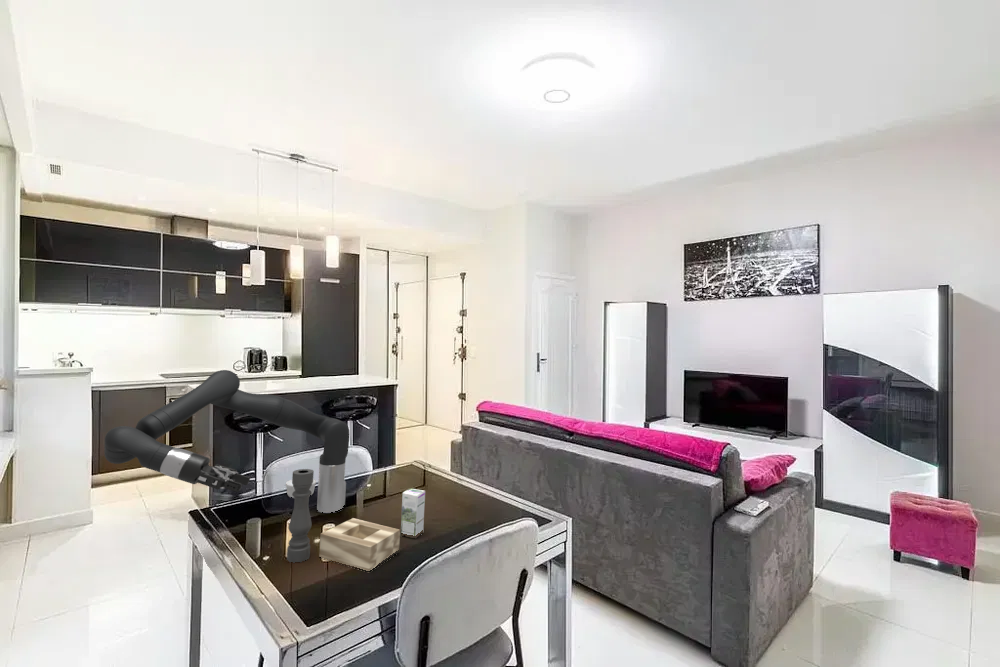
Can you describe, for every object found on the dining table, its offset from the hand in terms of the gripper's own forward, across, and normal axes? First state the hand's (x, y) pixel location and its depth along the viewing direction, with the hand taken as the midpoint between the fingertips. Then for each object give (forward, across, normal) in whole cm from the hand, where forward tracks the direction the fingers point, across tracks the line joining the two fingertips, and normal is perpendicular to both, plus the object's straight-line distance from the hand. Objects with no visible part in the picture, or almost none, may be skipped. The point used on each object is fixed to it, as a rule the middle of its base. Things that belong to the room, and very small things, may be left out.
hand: (244, 484), depth 133 cm
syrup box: (+53, +15, +3) cm, 55 cm away
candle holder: (+22, +3, +16) cm, 27 cm away
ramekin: (+13, +60, +14) cm, 63 cm away
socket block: (+38, +3, +9) cm, 39 cm away
